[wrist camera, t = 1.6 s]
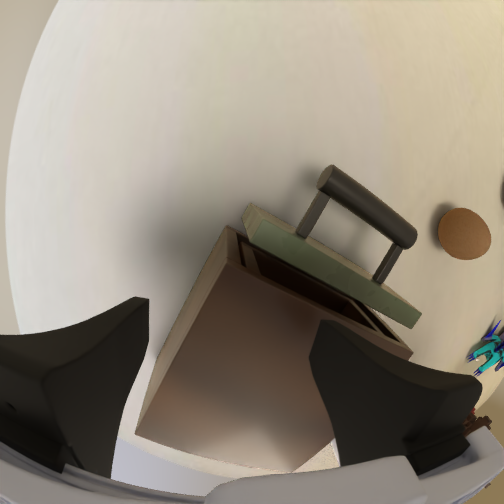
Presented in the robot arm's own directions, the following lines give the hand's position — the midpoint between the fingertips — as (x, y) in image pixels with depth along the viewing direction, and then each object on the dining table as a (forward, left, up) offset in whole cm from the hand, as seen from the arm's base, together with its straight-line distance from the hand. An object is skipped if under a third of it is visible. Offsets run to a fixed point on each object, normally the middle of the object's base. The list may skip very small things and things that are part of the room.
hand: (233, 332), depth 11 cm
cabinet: (-5, +5, -10) cm, 12 cm away
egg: (-16, -12, -10) cm, 22 cm away
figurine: (-39, -7, -10) cm, 41 cm away
